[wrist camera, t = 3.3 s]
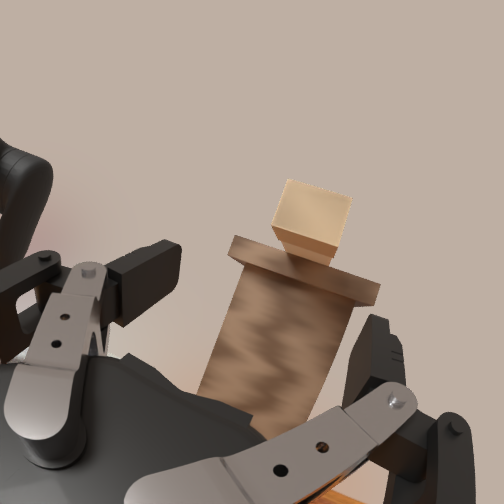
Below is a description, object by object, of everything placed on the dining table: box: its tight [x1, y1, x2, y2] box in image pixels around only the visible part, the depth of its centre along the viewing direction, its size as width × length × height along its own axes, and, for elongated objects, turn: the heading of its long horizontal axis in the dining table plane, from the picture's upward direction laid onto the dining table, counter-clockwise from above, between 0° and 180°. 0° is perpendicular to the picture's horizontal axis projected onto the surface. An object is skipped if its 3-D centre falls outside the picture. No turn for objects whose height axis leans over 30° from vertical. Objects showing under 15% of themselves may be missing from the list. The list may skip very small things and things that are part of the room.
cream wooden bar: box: [271, 179, 352, 266], centre depth 29 cm, size 4×24×3 cm, turn 166°
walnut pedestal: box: [196, 235, 380, 440], centre depth 30 cm, size 14×12×32 cm
